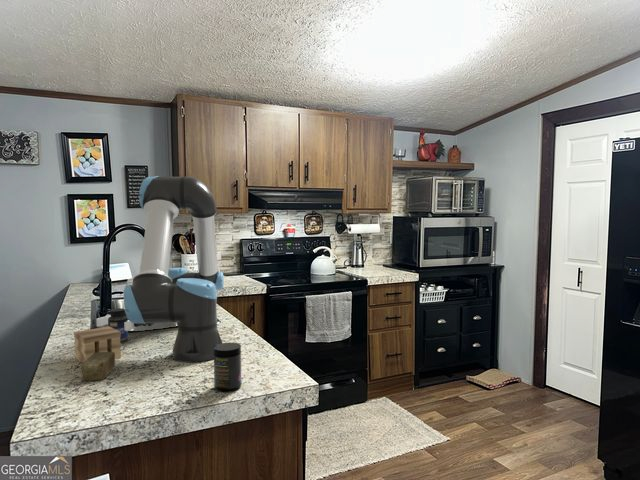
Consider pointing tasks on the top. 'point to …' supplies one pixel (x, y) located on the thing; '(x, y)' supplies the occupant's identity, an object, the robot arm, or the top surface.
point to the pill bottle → (118, 322)
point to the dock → (97, 342)
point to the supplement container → (227, 366)
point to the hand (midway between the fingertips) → (110, 324)
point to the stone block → (98, 366)
